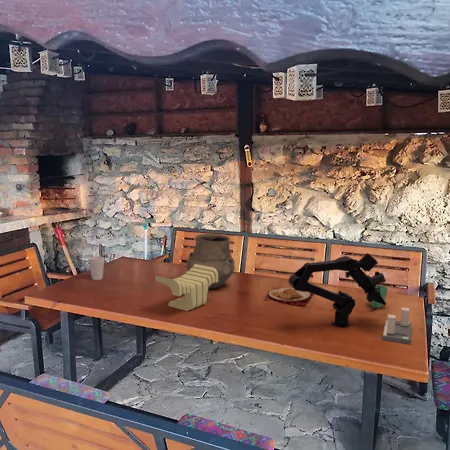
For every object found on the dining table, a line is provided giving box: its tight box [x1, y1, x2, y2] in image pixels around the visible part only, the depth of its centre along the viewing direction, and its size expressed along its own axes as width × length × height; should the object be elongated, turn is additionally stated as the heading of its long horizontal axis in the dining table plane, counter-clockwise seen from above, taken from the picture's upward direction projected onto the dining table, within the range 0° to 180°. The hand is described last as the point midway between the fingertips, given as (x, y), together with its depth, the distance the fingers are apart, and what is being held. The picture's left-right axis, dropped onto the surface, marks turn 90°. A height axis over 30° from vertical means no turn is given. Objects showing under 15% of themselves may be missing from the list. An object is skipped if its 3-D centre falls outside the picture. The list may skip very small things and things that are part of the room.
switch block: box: [381, 318, 412, 345], centre depth 201 cm, size 11×21×2 cm, turn 157°
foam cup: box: [88, 255, 105, 281], centre depth 284 cm, size 10×9×13 cm
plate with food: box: [264, 286, 314, 307], centre depth 251 cm, size 25×26×4 cm
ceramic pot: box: [186, 233, 236, 290], centre depth 268 cm, size 28×28×30 cm
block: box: [387, 313, 397, 334], centre depth 196 cm, size 3×4×7 cm
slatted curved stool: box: [155, 264, 218, 312], centre depth 235 cm, size 30×16×18 cm, turn 143°
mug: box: [369, 284, 389, 309], centre depth 232 cm, size 15×10×10 cm
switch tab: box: [400, 307, 410, 326], centre depth 205 cm, size 3×4×7 cm
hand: (385, 304), depth 207 cm, fingers closed
